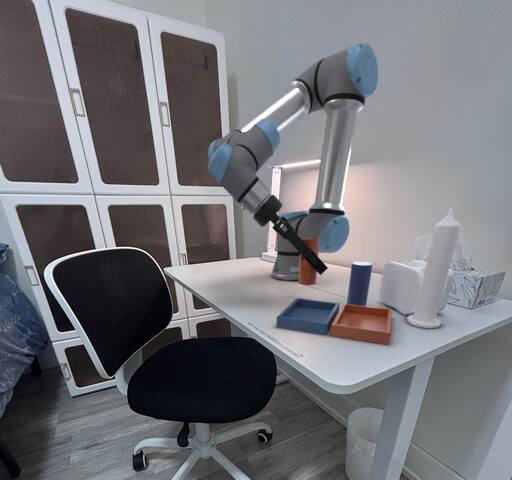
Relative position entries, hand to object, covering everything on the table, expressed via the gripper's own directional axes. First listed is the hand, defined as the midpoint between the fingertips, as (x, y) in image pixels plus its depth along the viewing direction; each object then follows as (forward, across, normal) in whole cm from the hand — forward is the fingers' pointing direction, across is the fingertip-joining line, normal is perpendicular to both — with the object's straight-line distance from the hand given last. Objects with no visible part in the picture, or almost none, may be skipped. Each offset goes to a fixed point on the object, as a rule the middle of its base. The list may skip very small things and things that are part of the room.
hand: (321, 269), depth 80 cm
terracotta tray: (+11, +19, -2) cm, 22 cm away
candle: (+22, +17, +8) cm, 29 cm away
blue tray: (+3, +14, -10) cm, 18 cm away
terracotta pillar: (0, 0, -5) cm, 5 cm away
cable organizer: (+23, +6, +9) cm, 26 cm away
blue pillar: (+13, +6, 0) cm, 14 cm away
